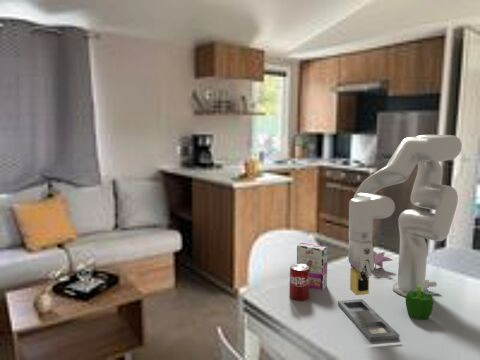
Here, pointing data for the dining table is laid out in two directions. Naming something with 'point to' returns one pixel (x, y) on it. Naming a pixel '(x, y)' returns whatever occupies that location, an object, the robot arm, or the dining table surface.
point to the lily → (380, 259)
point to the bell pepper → (419, 304)
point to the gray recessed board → (368, 321)
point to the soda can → (299, 282)
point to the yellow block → (356, 282)
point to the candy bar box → (314, 263)
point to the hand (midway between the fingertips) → (359, 286)
